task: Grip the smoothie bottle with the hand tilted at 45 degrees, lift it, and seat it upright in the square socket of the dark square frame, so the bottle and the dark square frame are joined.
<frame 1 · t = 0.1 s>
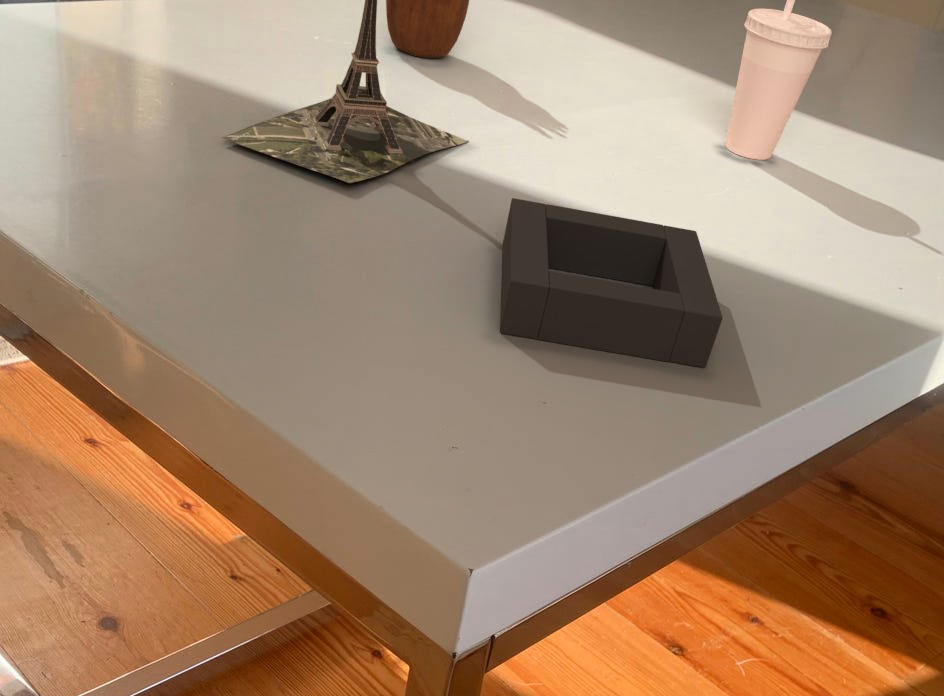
dark square frame: (597, 303, 63), on the table
eiffel tower figurine: (351, 145, 76), on the table
smoothie: (747, 153, 89), on the table
wooden figurine: (419, 54, 95), on the table
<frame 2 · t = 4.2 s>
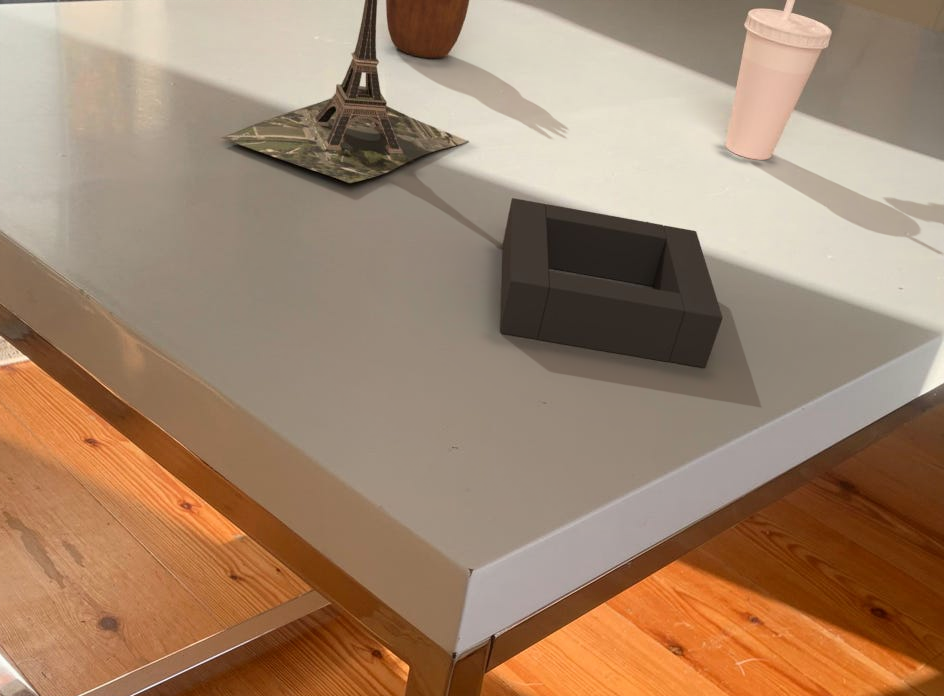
nothing on the table moved.
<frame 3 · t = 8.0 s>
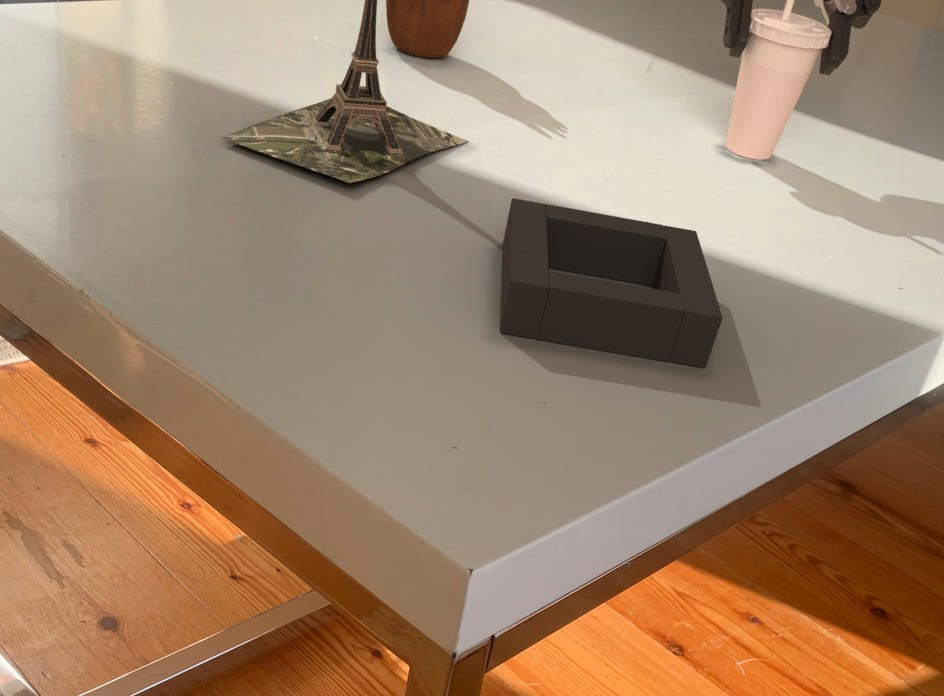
hand: (784, 60, 83), 7 cm above the table, tool tilted 45°, fingers closed on smoothie, 6 cm apart
smoothie: (747, 152, 89), on the table, touching gripper
everything else where it was.
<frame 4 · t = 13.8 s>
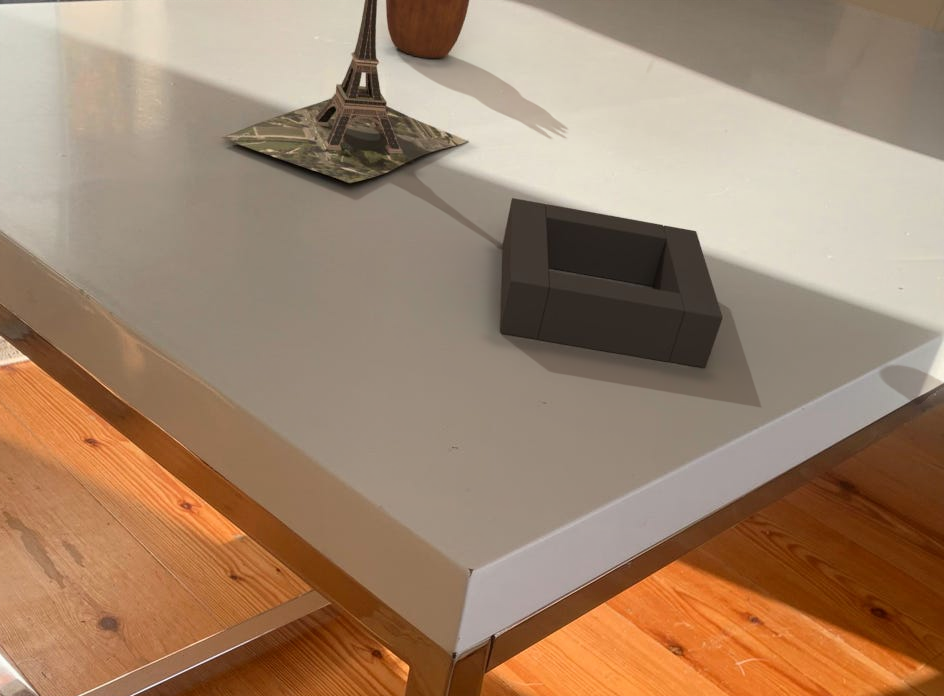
when the fingers open (7 cm above the table, at t = 20.0 s): smoothie stays where it is, resting in dark square frame.
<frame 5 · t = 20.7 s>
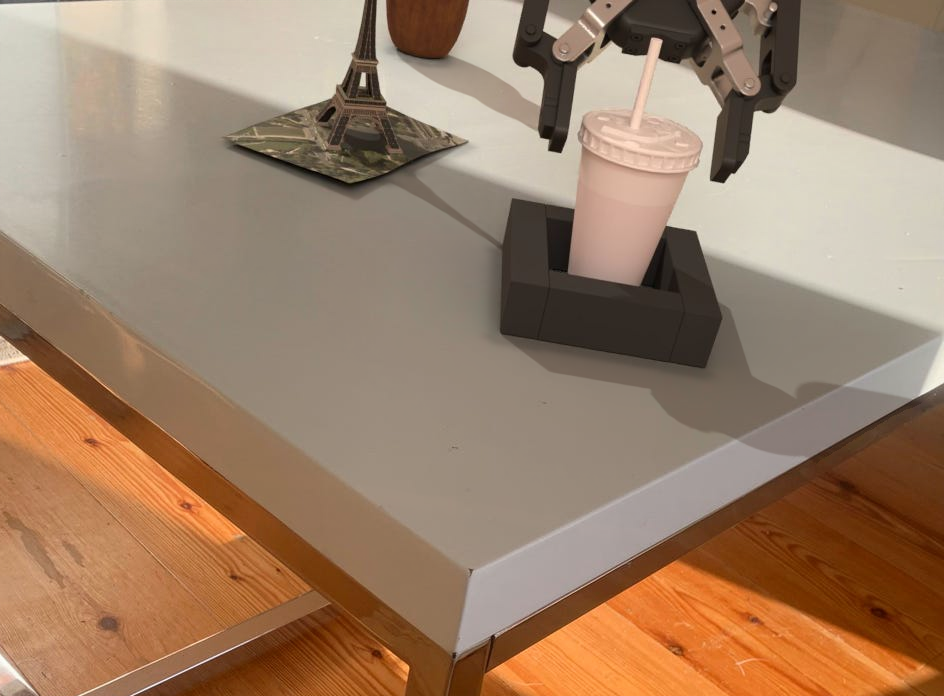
hand: (640, 161, 57), 9 cm above the table, tool tilted 45°, fingers open, 8 cm apart
smoothie: (596, 305, 63), resting in dark square frame
everything else where it was.
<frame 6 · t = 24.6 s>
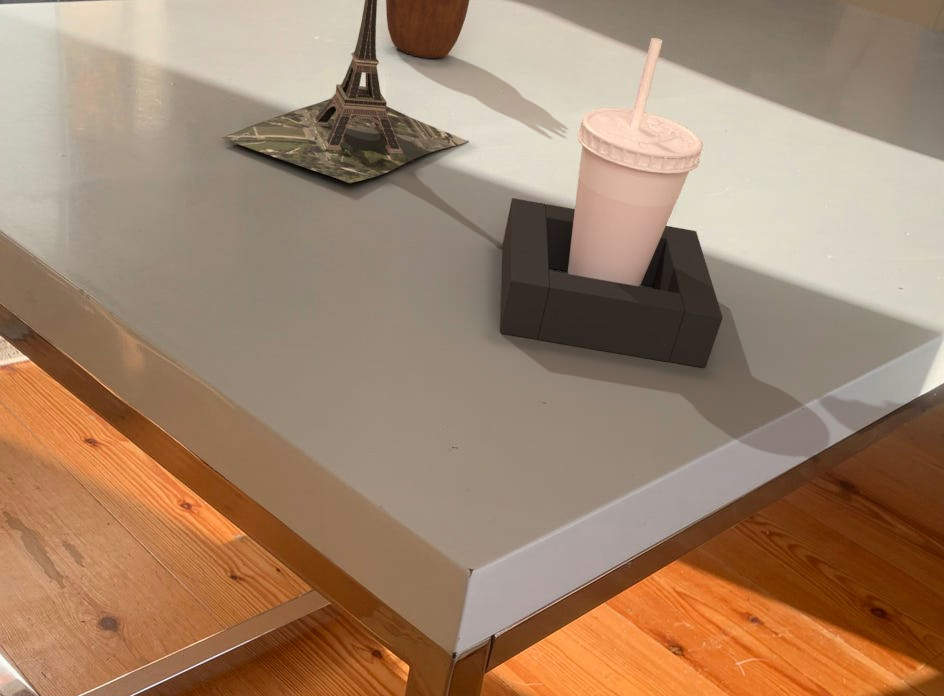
nothing on the table moved.
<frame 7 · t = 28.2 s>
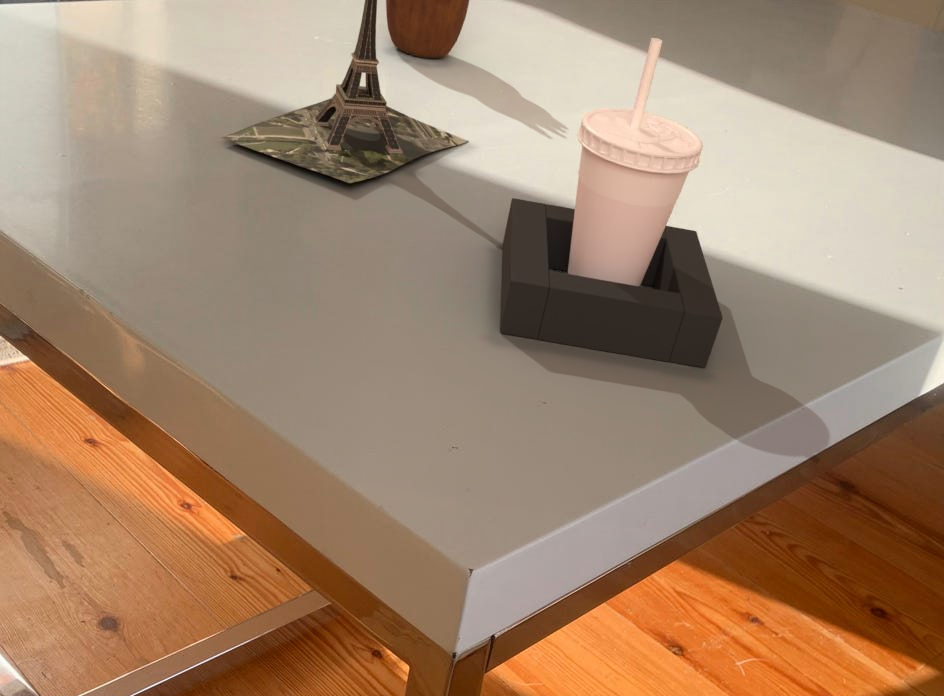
nothing on the table moved.
at the end: smoothie 0.1 cm off-centre in the dark square frame, point 0.0 cm above the dark square frame's base; smoothie tilted 0°; the gripper is holding nothing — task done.
